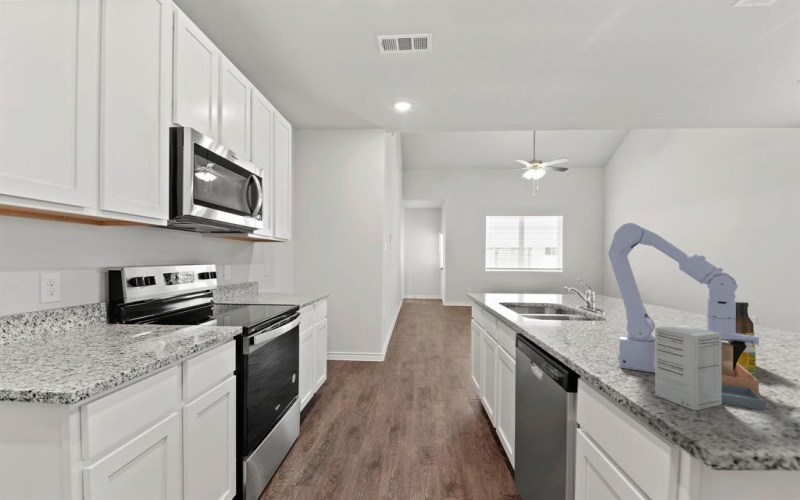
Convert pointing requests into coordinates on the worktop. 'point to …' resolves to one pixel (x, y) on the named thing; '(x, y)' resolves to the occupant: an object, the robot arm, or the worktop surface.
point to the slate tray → (742, 397)
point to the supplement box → (688, 366)
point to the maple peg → (727, 359)
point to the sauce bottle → (743, 320)
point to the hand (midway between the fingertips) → (720, 367)
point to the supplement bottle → (748, 359)
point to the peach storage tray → (741, 379)
